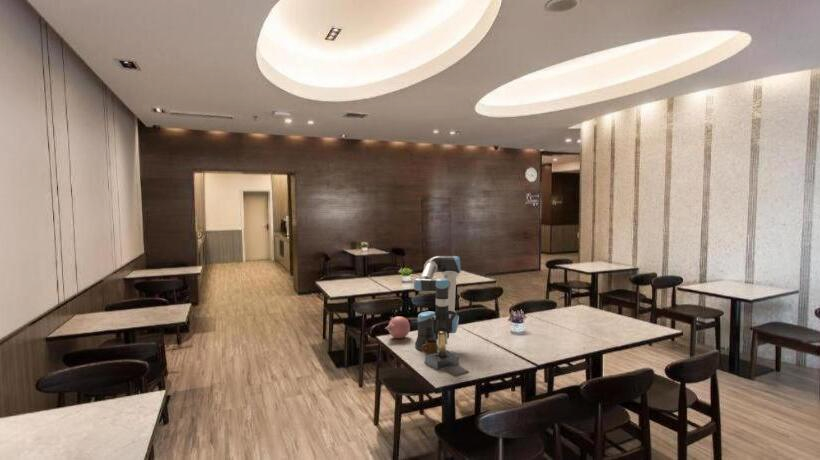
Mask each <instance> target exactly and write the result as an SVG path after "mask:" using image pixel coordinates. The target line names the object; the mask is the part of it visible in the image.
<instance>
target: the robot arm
mask: <svg viewBox="0 0 820 460" xmlns="http://www.w3.org/2000/svg"><path fill="white" fill-rule="evenodd" d="M460 260H461V259H460V256H456V255H435V256H432V257H431V258H429V259H428V260H426V261H425V263H424V264H423V271H422V273H421V276H420V277H417V278H415V279H414V281H413V288H414V291H418V292H435V311H430V310H429V311H423V312H420V313H419V314H418V315H417V337H416V341H415V342H414V347H415V349H416V350H418V351H421V352H423V351H422V345H423V344H425V342H426V340H436V341H437V345H439V334H438V332H439V331H445V332H446V346H447V345H448V339H449V338H450V334H455V333H457V332H458V327H459V323H460V321H459V320H460V316H459V315H458V313H457V311H456V310H455V308H456V289H457V288H456V287H457V286H456V285H457V278H458V277H459V276H460V275H459V274H461V272H462V269H461V261H460ZM435 273H441V275H442V276H443V277H442V278H440V277H439V278H434V276H435ZM424 349H425V347H424Z"/></svg>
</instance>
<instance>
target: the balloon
mask: <svg viewBox="0 0 820 460" xmlns="http://www.w3.org/2000/svg"><path fill="white" fill-rule="evenodd" d="M384 329H385V330H387V331H388V333H389V335H390V336H391V337H393V338H395V339H399V340H400V339H403V338H405V337H406V336H408V334H409V332H410V330H411V325H410V322H409V320H408V319H407V318H406V317H404V316H400V315H399V316H395V317H392V319H390V321H389V322H388V325H387V326H386V327H385V328H384Z"/></svg>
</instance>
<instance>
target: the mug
mask: <svg viewBox="0 0 820 460" xmlns="http://www.w3.org/2000/svg"><path fill="white" fill-rule="evenodd" d="M436 340H437V339H436ZM436 340H426V342H425V344H423V345H422V351H421V352H423V353H425V355H428V354H432V353H436V352H438V345H437V341H436ZM424 347H425V349H424ZM425 355H424V356H425Z"/></svg>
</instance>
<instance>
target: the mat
mask: <svg viewBox="0 0 820 460" xmlns="http://www.w3.org/2000/svg"><path fill="white" fill-rule="evenodd" d="M443 371H444V372H446V373H448V374H450V375H451V376H454V377H458V376H461V375H465V374H468V373H469V372H470V371H469V370H467V369H466V368H464V367H462V366H460V365H459V364H458V365H455V366H451V367H447V368H444V369H443Z"/></svg>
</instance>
